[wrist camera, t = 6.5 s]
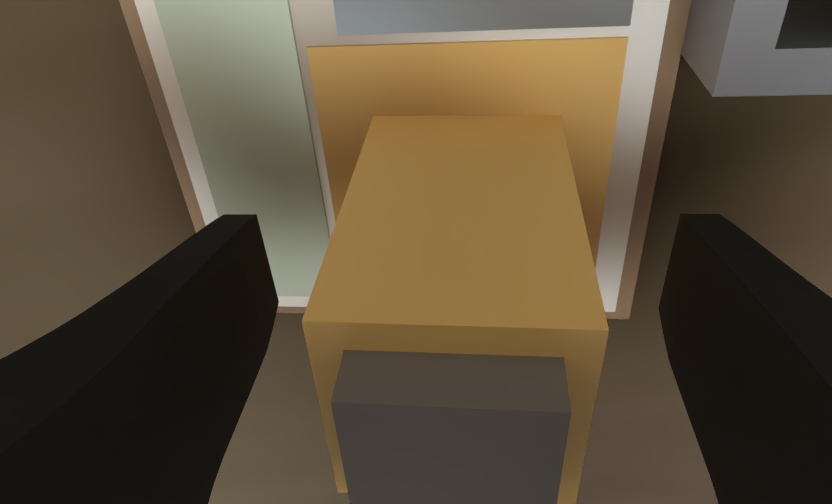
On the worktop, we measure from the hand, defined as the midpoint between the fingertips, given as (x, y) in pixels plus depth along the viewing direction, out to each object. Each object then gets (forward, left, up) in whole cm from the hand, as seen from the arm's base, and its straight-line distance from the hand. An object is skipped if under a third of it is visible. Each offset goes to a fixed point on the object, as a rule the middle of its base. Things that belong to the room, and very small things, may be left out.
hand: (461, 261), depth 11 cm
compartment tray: (+1, +1, -3) cm, 3 cm away
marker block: (0, 0, -2) cm, 2 cm away
